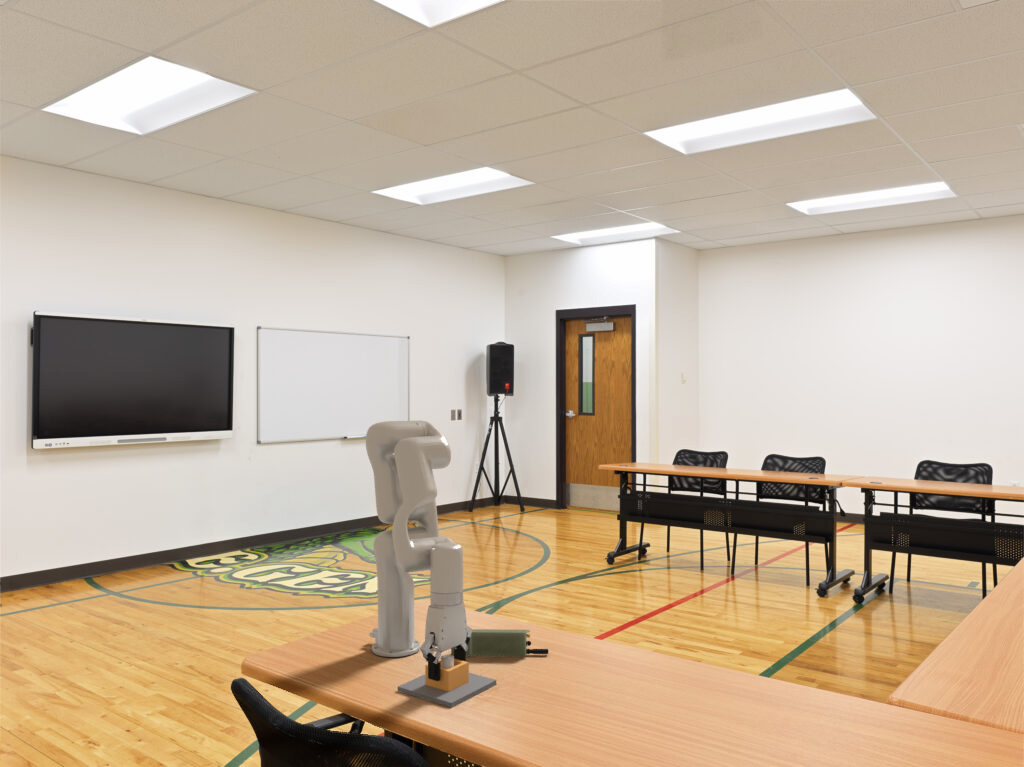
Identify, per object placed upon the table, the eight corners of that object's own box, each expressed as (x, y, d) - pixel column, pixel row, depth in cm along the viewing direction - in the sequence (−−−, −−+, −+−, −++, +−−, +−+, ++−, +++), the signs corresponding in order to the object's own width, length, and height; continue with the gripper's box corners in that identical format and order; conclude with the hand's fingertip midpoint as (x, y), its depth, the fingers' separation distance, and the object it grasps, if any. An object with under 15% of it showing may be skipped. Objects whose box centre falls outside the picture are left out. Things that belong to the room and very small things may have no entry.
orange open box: (425, 684, 177) (425, 664, 177) (445, 675, 183) (445, 656, 183) (448, 691, 173) (448, 671, 173) (468, 681, 179) (468, 662, 179)
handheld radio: (452, 653, 202) (548, 653, 201) (450, 658, 198) (548, 658, 197) (452, 627, 202) (548, 628, 200) (450, 632, 198) (548, 633, 197)
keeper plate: (397, 691, 176) (397, 660, 176) (443, 669, 189) (443, 641, 189) (451, 707, 167) (451, 675, 167) (496, 684, 180) (496, 654, 180)
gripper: (458, 587, 187) (459, 659, 187) (408, 603, 173) (409, 681, 173) (483, 591, 183) (483, 665, 183) (433, 609, 169) (434, 689, 169)
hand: (447, 673), depth 178 cm, fingers open, 8 cm apart
